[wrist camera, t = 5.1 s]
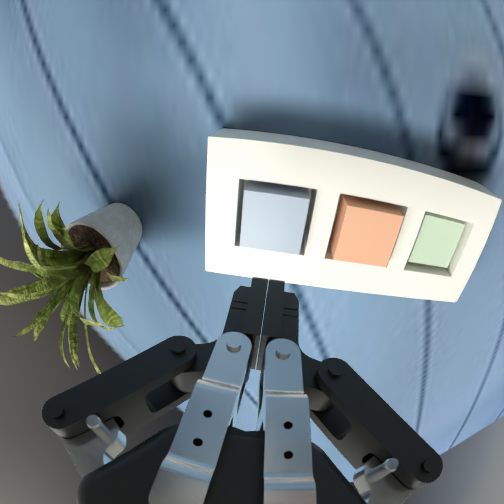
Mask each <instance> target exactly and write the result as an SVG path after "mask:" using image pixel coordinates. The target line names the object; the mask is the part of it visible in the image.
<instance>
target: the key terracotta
mask: <svg viewBox="0 0 504 504" xmlns="http://www.w3.org/2000/svg"><path fill="white" fill-rule="evenodd" d="M403 218H404V216H403V215H402V213H401V212H400V211H399V209H398V208H397V207H396V205H395V204H392V203H387V202H382V201H378V200H373V199H368V198H363V197H357V196H352V195H347V194H341V199H340V203H339V208H338V212H337V216H336V221H335V225H334V229H333V233H332V237H331V241H330V247H331V251H332V256H333V260H338V261H345V262H352V263H359V264H366V265H373V266H380V267H386V266H387V263H388V261H389V258H390V255H391V253H392V250H393V247H394V245H395V242H396V239H397V236H398V233H399V230H400V227H401V224H402V221H403Z"/></svg>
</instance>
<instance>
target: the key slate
mask: <svg viewBox="0 0 504 504" xmlns="http://www.w3.org/2000/svg"><path fill="white" fill-rule="evenodd" d="M309 201H310V197H309V191H308V188H305V187H298V186H292V185H285V184H278V183H270V182H262V181H254V180H248V182H247V185H246V187H245V189H244V196H243V208H242V221H241V234H240V247H247V248H254V249H261V250H268V251H275V252H282V253H289V254H296V255H299V253H300V248H301V243H302V238H303V233H304V228H305V222H306V217H307V212H308V206H309Z"/></svg>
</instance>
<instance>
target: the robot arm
mask: <svg viewBox="0 0 504 504" xmlns="http://www.w3.org/2000/svg"><path fill="white" fill-rule="evenodd" d="M267 284H268V279H266V278H258V277H253V279H252V284H251V287H245V286H240V287H239V288H238V289H237V290H236V291H235V292H234V294H233V298H232V302H231V305H230V309H229V313H228V316H227V320H226V324H225V327H224V331H223V334H222V335H221V336H220V337H219V338H218V339H217V340H215V341H213V342H211V343H206V344H195V343H194V342H193V341H192V340H191V339H190V338H188V337H185V336H173V337H170V338H168V339H166V340H164V341H162V342H161V343H159V344H157V345H155V346H153V347H151V348H149V349H147V350H146V351H144V352H142V353H140V354H138V355H136V356H134V357H132V358H130V359H128V360H126V361H124V362H123V363H121V364H119V365H117V366H115V367H113V368H111V369H109V370H107V371H105V372H103V373H101V374H99V375H97V376H95V377H93V378H91V379H89V380H87V381H85V382H83V383H81V384H79V385H77V386H75V387H73V388H71V389H69V390H67V391H65V392H63V393H60V394H58V395H57V396H54V397H52V398H50V399H49V400H48V401H47V402H46V403H45V404H44V406H43V409H42V417H43V420H44V422H45V423H46V424H47V425H48V426H49V427H50V428H51V429H52V430H53V431H54V432H55V433H56V434H57V435H58V436H59V437H60V438H61V439H62V441H63V443H64V445H65V447H66V449H67V451H68V453H69V455H70V457H71V459H72V460H73V462H74V464H75V465H76V468H77V469H78V471H79V473H80V475H81V476H82V478H83V479H82V480H81V482H80V483H79V485H78V488H77V492H76V502H77V504H402V503H403V502H404V501H405V500H406V498H408V497H409V496H410V495H411V494H412V493H413V491H414V490H416V489H418V488H420V487H423V486H425V485H427V484H429V483H431V482H433V481H434V480H436V479H437V478H438V477H439V476H440V474H441V471H442V468H443V464H442V459H441V457H440V456H439V454H438V453H437V452H436V451H435V450H434V449H432V448H431V447H430V446H429V445H428V444H427V443H426V442H425V441H424V440H423V439H422V438H421V437H420V436H419V435H418V434H417V433H416V432H415V431H414V430H413V429H412V428H411V427H410V426H409V425H408V424H407V423H406V422H405V421H404V420H403V419H402V418H401V417H400V416H399V415H398V414H397V413H396V412H395V411H394V410H393V409H392V408H391V407H390V406H389V405H388V404H387V403H386V402H385V401H384V400H383V399H382V398H381V397H380V396H379V395H378V394H377V393H376V392H375V391H374V390H373V389H372V388H371V387H370V386H369V385H368V384H367V383H366V382H365V381H364V380H363V379H362V378H361V377H360V376H359V375H358V374H357V373H356V372H355V371H354V370H353V369H352V368H351V367H350V366H349V365H348V364H347V363H346V362H345V361H343V360H341V359H338V358H328V359H325V360H323V361H322V362H320V361H318V360H315V359H312V358H310V357H308V356H307V355H305V354H304V353H303V352H302V351H301V349H300V347H299V344H298V323H299V318H298V316H299V311H298V310H299V301H298V299H297V297H296V296H295V294H294V293H289V292H284V285H285V281H281V280H273V279H269V285H268V292H267V298H266V291H267ZM265 298H266V305H265ZM264 306H265V312H264ZM263 313H264V319H263ZM262 320H263V326H262ZM261 327H262V333H261ZM260 334H261V341H260ZM259 341H260V348H259V355H258V362H257V369H256V370H261V374H260V381H259V386H258V408H257V424H256V431H243V430H240V429H237V428H235V426H236V421H237V417H238V413H239V410H240V406H241V402H242V399H243V395H244V391H245V388H246V383H247V381H248V379H249V374H250V369H255V365H256V359H257V353H258V347H259ZM189 398H190V400H189V402H188V405H187V407H186V410H185V412H184V415H183V417H182V420H181V422H180V423H177V424H174V425H171V426H168V427H166V428H164V429H163V430H161V431H159V432H158V433H156V434H155V435H153V436H152V437H150V438H148V439H147V440H145V441H144V442H142V443H141V444H139V445H137V446H136V447H134V448H133V449H131V450H129V451H127V452H126V453H124V454H122V455H121V456H119V457H117V458H115V457H116V456H117V455H118V454H119V453H120V452H122V451H123V449H124V448H125V446H126V436H127V435H128V434H130V433H132V432H134V431H136V430H137V429H139V428H141V427H143V426H145V425H146V424H148V423H150V422H151V421H153V420H155V419H156V418H158V417H160V416H161V415H163V414H165V413H167V412H168V411H170V410H171V409H173V408H175V407H176V406H178V405H180V404H181V403H183V402H184V401H186V400H187V399H189ZM310 418H311V419H312V420H313V421H314V423H315V424H316V425H317V426H318V427H319V428H320V430H321V431H322V432H323V433H324V434H325V435H326V437H327V438H328V439H329V440H330V441H331V442H332V443H333V445H334V446H335V447H336V448H337V449H338V450H339V451H340V453H341V454H342V455H343V456H344V457H345V458H346V459H347V460H348V461H349V462H350V464H351V465H352V466H353V467H354V468H355V469H356V471H355V473H354V476H353V481H354V484H355V486H356V487H357V489H358V491H359V493H358V492H357V491H356V490H355V489H354V487H353V486H352V485H351V484H350V483H349V482H348V480H347V479H346V478H345V477H344V476H343V474H342V473H341V472H340V471H339V470H338V468H337V467H336V466H335V465H334V463H333V462H332V461H331V460H330V458H329V457H328V456H327V455H326V453H325V452H324V451H323V450H322V449H321V448H320V447H318V446H317V445H315V444H314V443H312V442H311V429H310ZM114 458H115V459H114Z"/></svg>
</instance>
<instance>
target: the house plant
mask: <svg viewBox="0 0 504 504" xmlns="http://www.w3.org/2000/svg"><path fill="white" fill-rule="evenodd" d="M43 200H44V199H43ZM18 202H19V201H18ZM42 202H43V201H42ZM42 202H41V204H42ZM41 204H40V206H39V208H38V209H37V211H36V213H35V219H34V224H35V229H36V231H37V233H38V235H39V237H40V239H41V240H42V241H43V242H44V243H45V245H46V246H48V247H50V248H52V249H54V250H51V249H44V248H40V247H39V246H38V245H35V244H34V242H33V241H32V240H31V239H30V237H29V235H28V233H27V231H26V229H25V227H24V224H23V219H22V214H21V209H20V205H19V210H20V218H21V229H22V232H23V233H22V238H23V243H24V248H25V251H26V253H27V256H28V258H29V260H30V261H31V263H32V264H33V265H30V264H26V263H23V262H15V261H8V260H5V259H3V258H1V257H0V263H1V264H3V265H5V266H7V267H10V268H13V269H17V270H22V271H27V272H32V273H33V274H34V275H36V276H37V277H39V278H41V279H40V280H37V281H35V282H32V283H30V284H26V285H23V286H20V287H16V288H13V289H11V290H10V291H9V292H8V293H0V294H2V295H4V296H2V297H0V304H1V305H15V304H18V303H22V302H26V301H31V300H35V299H38V298H42V297H45V296H48V295H50V294H52V293H54V292H55V291H56V293H55V294H54V295H53V296H52V298H51V299H50V300H49V302H48V303H47V304H46V306H45V307H44V308H42V309H41V310H40V311H39V312H38V314H37V315H36V316H35V318H34V319H33V320H32V322H31V323H30V324H29V325H28V326H27V327H26V328H25V329H23V330H22V331H21V332H20V333H18V334H17V335H16V336H14V337H18V336H21V335H24V334H26V333H28V332H29V331H30V330H32V329H33V328H34V327H35V328H34V341H35V340H36V339H37V337H38V335H39V333H40V331H41V330H42V329H43V328H44V327H45V325H46V323H47V321H48V319H49V317H50V316H51V314H52V313H53V311H54V310H55V309H56V308H57V307H58V306H59V304H60V303H61V302H62V300H63V299H64V298H65V296H66V295H67V294H68V295H67V297H66V300H65V302H64V305H63V307H62V310H61V314H60V316H61V320H62V322H63V325H62V329H61V333H60V343H59V345H60V351H61V354H62V356H63V359H64V360H65V357H64V353H63V336H64V331H65V328H66V324H68V325H69V328H68V340H69V347H70V355H71V359H72V361H73V363H74V365H75V367H76V362H77V364H78V366H79V357H78V353H77V347H78V336H77V321H78V317H79V318H80V319H81V320H82V321H83V322H84V323H85V334H86V342H87V348H88V352H89V356H90V358H91V361H92V364H93V366H94V367H95V369H96V370H97V372H98V373H99V374H101V372H100V371H99V369H98V367H97V366H96V364H95V362H94V360H93V357H92V355H91V352H90V347H89V342H88V335H87V326H86V324H87V325H92V326H100V327H102V328H104V329H107V330H114V329H112V328H107V327H104V326H101V324H103V323H99V322H97V320H96V318H95V314H94V299H95V301H96V305H97V309H98V311H99V314H100V316H101V318H102V320H103V321H104V322H105V325H108V326H110V327H122V326H124V325H123V322H122V319H121V318H122V317H120V316H119V315H118V314H117V313H116V312H115V311H114V310H113V309H112V308H111V307H110V306H109V305H108V304H107V302H106V301H105V300H104V298H103V294H102V291H101V289H102V290H104V289H111V288H113V287H115V286H116V285H117V284H118V283H119V282H120V281H125V280H127V278H122V276H123V274H124V272H125V270H126V268H127V266H128V264H129V261H130V259H131V257H132V255H133V253H134V251H135V249H136V247H137V245H138V243H139V241H140V239H141V237H142V232H143V229H142V224H141V221H140V218H139V217H138V215H137V214H136V213H135V212H134V211H133V210H132V209H131V208H130V207H128V206H127V205H125V204H122V203H112V204H109V205H107V206H105V207H103V208H101V209H98V210H96V211H94V212H92V213H90V214H88V215H86V216H84V217H82V218H80V219H78V220H76V221H74V222H72V223H70V224H69V225H68V226H67V227H65V225H64V223H63V221H62V219H61V217H60V213H59V209H58V207H59V204H58V206H57V208H56V209H55V211H54V212H53V214H52V215H50V213H49V210H48V212H47V223H48V226H49V228H50V230H51V231H52V232H53V234H54V236H55V237H56V239H57V240H58V241H59V242H60V243H61V248H60V247H59V246H57V245H55V244H54V243H53V242H52V241H51V240H50V239H49V237H48V234H47V231H46V228H45V224H44V220H43V216H42V212H41ZM59 250H62V251H59ZM33 255H34V256H35V257H36V259H37V260H38V261H39V262H40V263H41V264H42V265H41V266H40V265H39V264H38V263H37V261H36V260H35V258H34V256H33ZM88 285H89V286H90V290H89V302H88V306H89V312H90V315H91V317H92V319H93V320H94V321H95V322H93V321H89V320H86V293H87V286H88ZM85 288H86V292H85V302H84V319H82V318H81V317H80V313H79V311H80V306H81V302H82V297H83V293H84V290H85ZM73 356H74V357H73ZM74 358H75V360H76V362H75V360H74ZM65 362H66V360H65ZM66 364H67V362H66ZM67 365H68V364H67Z"/></svg>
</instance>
